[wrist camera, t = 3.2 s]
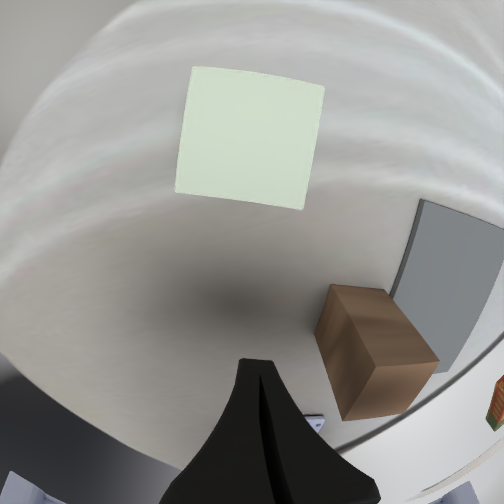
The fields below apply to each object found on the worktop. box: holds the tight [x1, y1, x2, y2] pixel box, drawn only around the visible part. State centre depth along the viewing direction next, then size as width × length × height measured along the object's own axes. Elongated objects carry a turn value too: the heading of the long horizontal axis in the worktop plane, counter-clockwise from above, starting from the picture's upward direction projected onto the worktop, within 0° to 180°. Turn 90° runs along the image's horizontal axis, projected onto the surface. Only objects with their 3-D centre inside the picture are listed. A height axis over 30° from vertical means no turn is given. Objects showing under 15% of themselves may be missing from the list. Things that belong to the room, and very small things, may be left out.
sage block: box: [174, 66, 325, 210], centre depth 10 cm, size 4×4×6 cm
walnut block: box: [314, 284, 440, 421], centre depth 14 cm, size 4×4×7 cm
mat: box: [390, 199, 504, 374], centre depth 17 cm, size 14×11×1 cm
